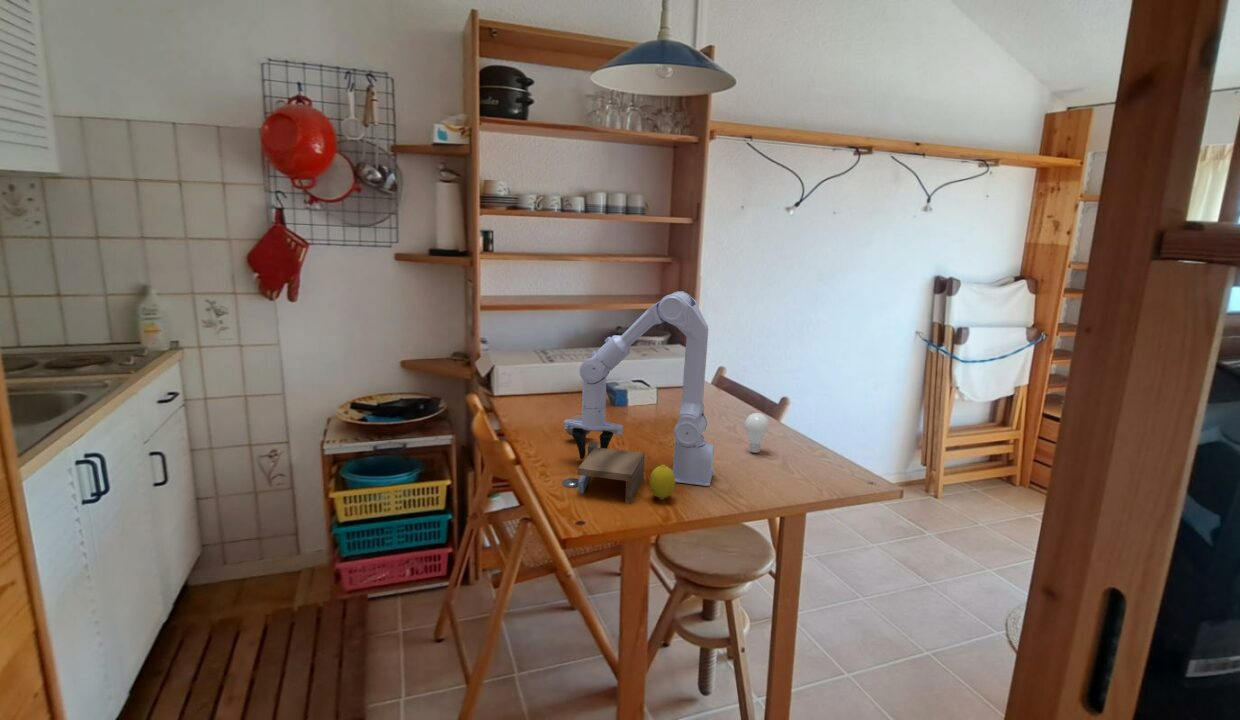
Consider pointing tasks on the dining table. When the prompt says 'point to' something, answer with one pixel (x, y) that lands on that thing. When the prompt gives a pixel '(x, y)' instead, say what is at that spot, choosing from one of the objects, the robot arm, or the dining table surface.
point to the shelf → (615, 467)
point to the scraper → (583, 479)
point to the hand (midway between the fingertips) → (592, 458)
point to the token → (570, 483)
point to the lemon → (662, 481)
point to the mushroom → (576, 417)
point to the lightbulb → (756, 430)
